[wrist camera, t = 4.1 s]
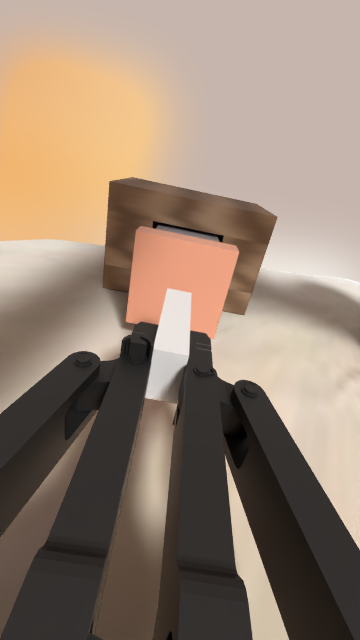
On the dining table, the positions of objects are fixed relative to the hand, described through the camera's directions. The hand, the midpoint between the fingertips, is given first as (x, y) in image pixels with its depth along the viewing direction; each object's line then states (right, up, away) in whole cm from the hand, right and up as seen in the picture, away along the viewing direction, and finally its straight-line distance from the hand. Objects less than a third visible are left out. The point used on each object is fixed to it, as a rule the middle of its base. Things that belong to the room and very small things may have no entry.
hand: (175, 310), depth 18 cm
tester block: (0, +5, +23) cm, 23 cm away
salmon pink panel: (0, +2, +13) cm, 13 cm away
